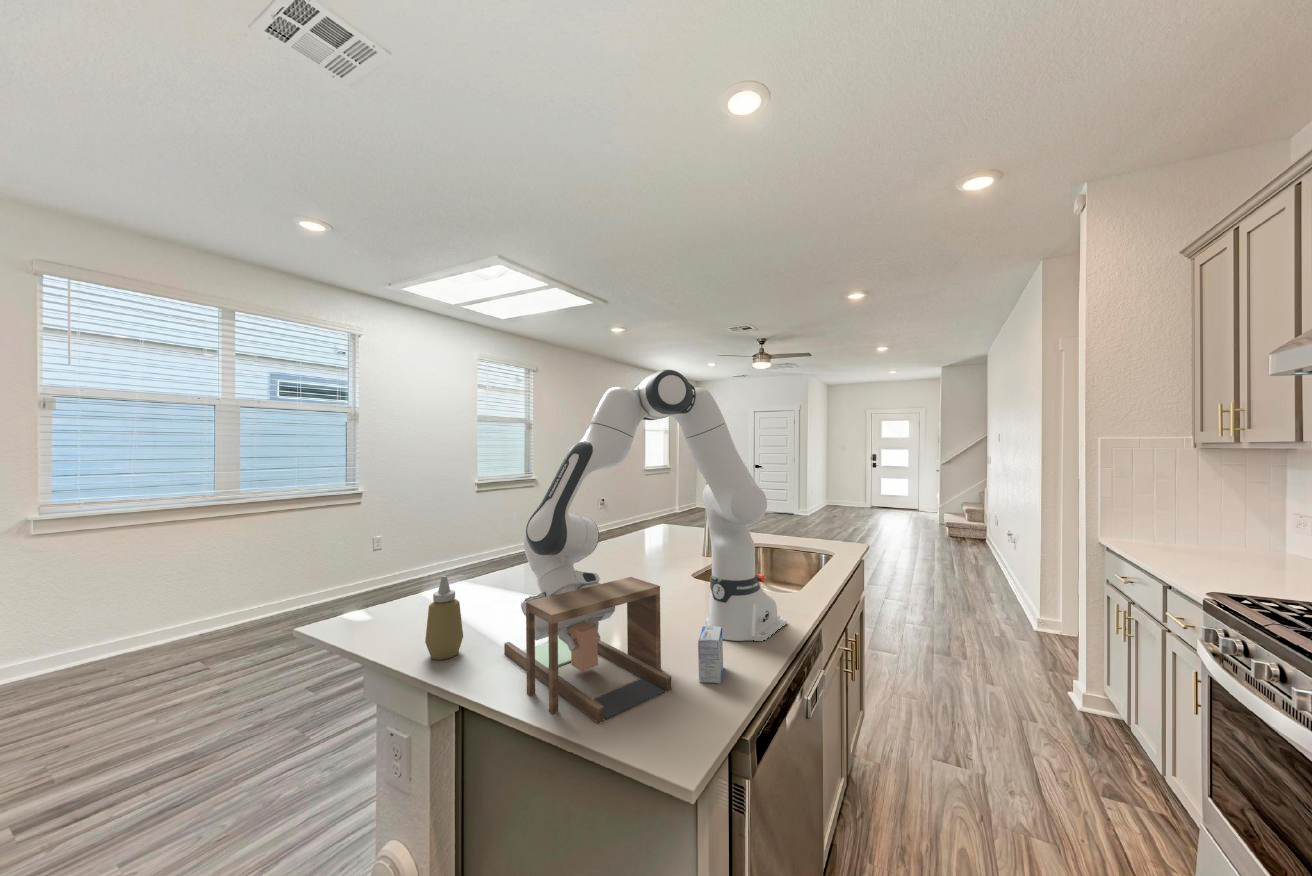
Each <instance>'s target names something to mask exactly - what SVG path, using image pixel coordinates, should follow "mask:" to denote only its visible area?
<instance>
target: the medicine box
mask: <svg viewBox="0 0 1312 876" xmlns="http://www.w3.org/2000/svg"><path fill="white" fill-rule="evenodd" d="M723 640H724V639H723V637H722V627H716V626H707V625H705V626H702V628H701V631H700V635H699V638H698V641H697V652H698V653H697V655H698V656H697V657H698V659H697V660H698V680H699V681H698V682H699V683H707V684H718V683H720V684H721V683H722V682H721V681H722V676H723V669H724V649H723V648H724V647H723V646H724V645H723V643H724V642H723Z"/></svg>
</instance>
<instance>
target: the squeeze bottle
mask: <svg viewBox="0 0 1312 876" xmlns="http://www.w3.org/2000/svg"><path fill="white" fill-rule="evenodd" d="M432 595H433V596H432V600H433V601H432V602H431V603H430V604H429V605H428V612H427V621H426V633H425V638H424V639H425V642H424V643H425V645H426V648H427V650H428V653H429V656H430V659H433V660H438V661H441V660H447V659H450V658H453V657H455V656H457V655H458V653H459V651H460V649H461V645H462V642H463V639H464V631H463V621H462V613H461V605H460V601H459V599H457V598H456V591H455V590H453V589H451V587H450V584H449V580H448V576H447V575H443V576H440V582H439V587H438V591H435V592H433V594H432Z"/></svg>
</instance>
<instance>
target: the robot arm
mask: <svg viewBox="0 0 1312 876" xmlns="http://www.w3.org/2000/svg"><path fill="white" fill-rule="evenodd" d="M668 417H672V418H673V419H675V420H676V421H677V423H678V424H679V426H680V428H681V430H682V431H681V432H682V433H683V436H684V438H685V441H686V444H687V447H688V448H689V451H690V454H691V456H692V459H693V461H694V465H695V466H696V468H697V469H698V471H699V472H700V474H701V475H702V477H703V478H704V480H705V482H706V484H705V486H704V488H703V489H702V493H701V497H702V502H703V505H704V507H705V508H704V509H705V513H706V520H707V527H708V531H709V537H710V548H711V573H710V578H709V587H710V590H711V591H710V592H709V597H708V598H709V599H708V600H709V601H708V610H707V616H706V617H705V623H706V626H716V627H722V637H723V640H726V641H736V642H740V641H741V642H742V641H743V642H744V641H753V640H754V641H756V642H764V641H763V640H765V641H766V640H768V639H769V638H770V637H772V636H773V635H774V634H776V633H777V632H778V631H779V630H778V629H779V628H781V627H782V626H784V624H786V623H787V619H785V618H784V617H783V616H781V615H778V609H777V608H778V606H777V603H776V601H775V600H774V598H773V597H771V596H770V595H768V593H766V592H765V591H764V590H763V589H761V586H760V583H762V584H764V583H765V582H766V581H767V576H766V575H765V574H761V573H758V574H756V547H755V546H756V545H755V542H754V539H753V538H752V536H751V535H752V534H751V531H750V528H749V525H752V524H755V523H757V522H759V521H760V520H761V519H763V517H764V515H765V514H766V513H767V512H766V511H767V509H768V499H767V497H766V494H765V492H764V491H763V490H762V488H761V487H760V486H759V485H758V484H757V483H756V481H755V479H754V478H753V476H752V473H751V472H750V471H749V469H748V467H747V466H746V464H745V463H744V461H743V459H742V457H741V456H740V454H739V452H738V450H737V447H736V446H735V443H734V441H733V439H732V436H731V433H730V431H729V428H728V426H727V425H728V424H727V423H726V420H725V417H724V415H723V413H722V411H721V409H720V407H719V405H718V404H717V402H716V400H715V398H714V397H713V395H712V394H711V392H710V391H709V390H708V389H706V388H704V387H695V386H694V385H692V384H691V383H690V382H689V381H688V379H687V378H686V377H685V376H684V375H683V374H682V373H680V372H679V371H677V370H674V369H661V370H658V371H656V372H655V373H652V374H649V375H648V376H646V377H644V379H643V380H641V382H639V383H638V384H637V385H635V386H634V387H632V388H631V389H630V388H628V387H624V386H613V387H610V388H609V389H607V390H606V392H605V393H603V396H602V398H601V399H600V401H599V403H598V404H597V407H596V409H595V410H594V413H593V415H592V418H591V420H590V422H589V426H588V428H587V429H586V431H585V433H584V435H583V437H582V438H581V439H580V440H579V442H576V443H575V444H574V445H573V446H571V448H570V449H569V451H568V452H567V454H566V455H565V457H564V459H563V461H562V462H561V465H560V466H559V468H558V469H557V472H556V473H555V476H554V477H553V480H552V481H551V484H550V485H549V487H548V489H547V491H546V494H545V495H544V498H542V500H541V503H540V504H539V505H538V507H537V508H536V509H535V511H534V512H533V513H532V514H531V516H530V518H529V519H528V522H527V524H526V528H525V535H524V540H523V547H524V552H525V557H526V559H527V562H528V565H529V567H530V569H531V571H532V573H533V575H535V577H536V582H537V587H538V589H539V592H540V593H537V594H534V595H528V596H526V597H525V598H524V599H523V600H522V601H521V603H520V607H521V611H522V614H523V615H524V616H525V617H526V602H528V601H532V600H536V599H541V598H545V597H549V596H553V595H557V594H561V593H566V592H570V591H574V590H578V589H582V588H586V587H591V586H595V585H599V584H601V583H600V581H601V577H600V576H599V574H598V573H596V572H588V571H581V570H577V569H575V568H574V564H576V563H579V562H581V561H582V560H584V559H585V558H587V557H589V556H590V555H591V554H592V553H594V551H595V550H596V548H597V546H598V543H599V539H600V533H599V532H600V531H599V529H598V525H597V524H596V522H595V521H594V520H593V519H592V518H588V517H586V516H582V515H578V514H574V513H570V512H569V510H570V508H571V506H572V504H573V501H574V499H575V498H576V496H577V493H578V491H579V489H580V488H581V485H582V484H583V482H584V480H585V479H586V477H588V475H590V474H591V473H593V472H596V471H600V470H605V469H610V468H613V467H616V466H618V465H619V464H621V463H623V462H624V461H625V459H626V458H627V456H628V454H629V453H630V450H631V447H632V444H633V442H634V438H635V436H636V433H637V430H638V429H637V428H638V427H639V426H640V423H641V421H642V420H643V421H645V420H646V421H655V420H661V419H666V418H668ZM759 582H760V583H759ZM615 611H616V606H614V607H610V608H607V609H603V610H600V611H596V612H593V613H589V614H586V615H582V616H579V617H575V618H572V619H568V620H564V621H561V622H558V640H559V639H560V640H562V641H563V642H564V643H566V644H567V645H568V648H569V650H570V651H573V650H575V649H577V648H578V647H579V644H578V642H577V639H576V638H574V639H572V638H571V637H570V636H569V635H568V634H567V632H568V631H569V630H571V627H573V626H576V625H580V624H583V623H586V622H587V623H589V624H591V625H593V626H596V627H597V642H599V640H601V635H600V634H599V624H600V623H599V622H601V621H604V620H607V619H610V618H611V617H612V615H613V614H614V613H615ZM787 624H788V623H787ZM787 624H786V625H787ZM784 627H785V626H784ZM782 628H783V627H782ZM782 628H781V629H782ZM777 630H778V631H777ZM776 631H777V632H776ZM775 632H776V633H775ZM773 633H774V634H773ZM772 634H773V635H772ZM771 635H772V636H771ZM768 637H769V638H768ZM545 638H549V630H548V622H547V621H545V620H543V619H541V618H539V617H538V616H536V615H535V641H540V640H542V639H545ZM767 638H768V639H767Z"/></svg>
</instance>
